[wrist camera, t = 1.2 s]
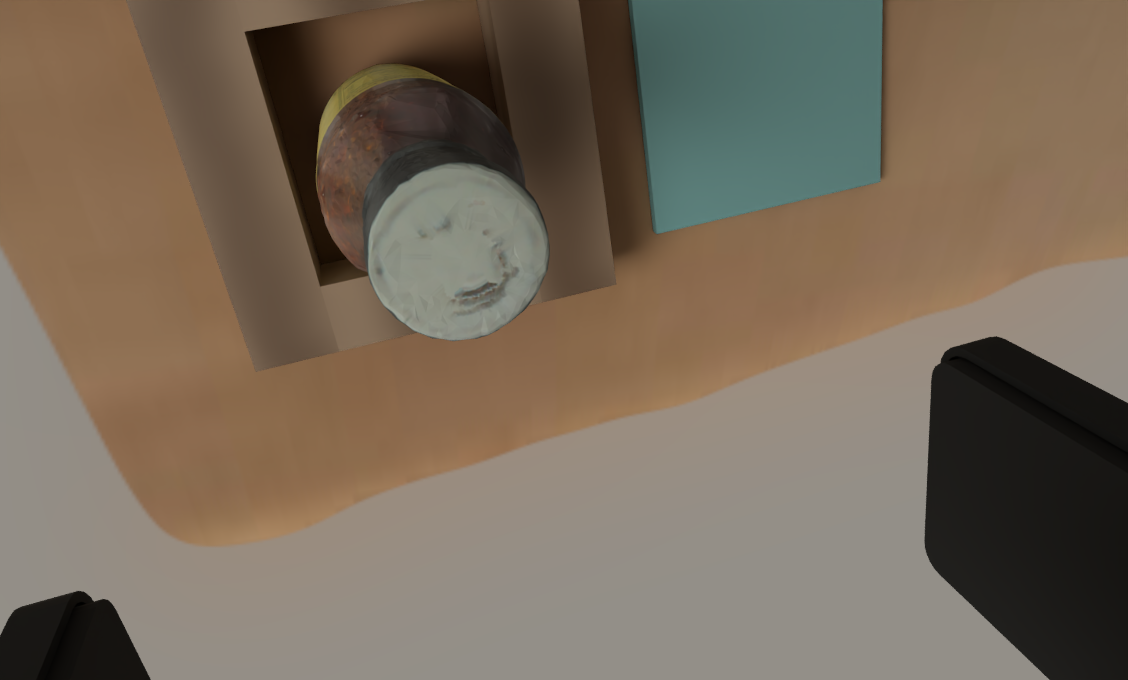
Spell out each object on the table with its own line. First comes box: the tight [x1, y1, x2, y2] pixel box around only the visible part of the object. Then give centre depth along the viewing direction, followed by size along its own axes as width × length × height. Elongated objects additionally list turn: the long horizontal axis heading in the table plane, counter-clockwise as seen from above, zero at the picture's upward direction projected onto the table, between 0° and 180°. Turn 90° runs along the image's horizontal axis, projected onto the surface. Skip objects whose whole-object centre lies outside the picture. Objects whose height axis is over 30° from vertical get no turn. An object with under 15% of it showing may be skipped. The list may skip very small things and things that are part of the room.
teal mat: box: [628, 0, 883, 234], centre depth 39 cm, size 12×12×1 cm
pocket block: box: [126, 0, 616, 372], centre depth 34 cm, size 16×16×3 cm
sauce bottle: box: [316, 63, 550, 341], centre depth 27 cm, size 6×6×20 cm
